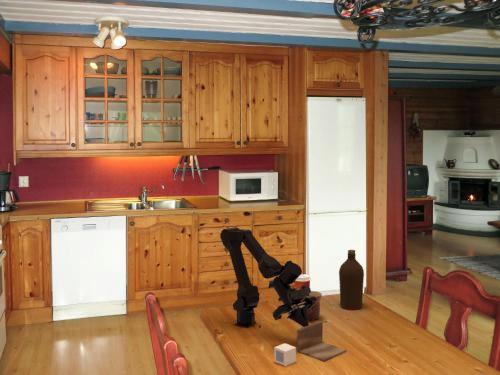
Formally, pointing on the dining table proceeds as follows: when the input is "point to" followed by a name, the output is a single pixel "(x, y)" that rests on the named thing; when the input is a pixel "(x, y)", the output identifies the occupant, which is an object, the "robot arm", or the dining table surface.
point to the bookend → (316, 343)
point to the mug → (314, 306)
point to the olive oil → (351, 283)
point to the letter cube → (285, 354)
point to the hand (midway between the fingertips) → (307, 327)
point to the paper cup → (302, 282)
